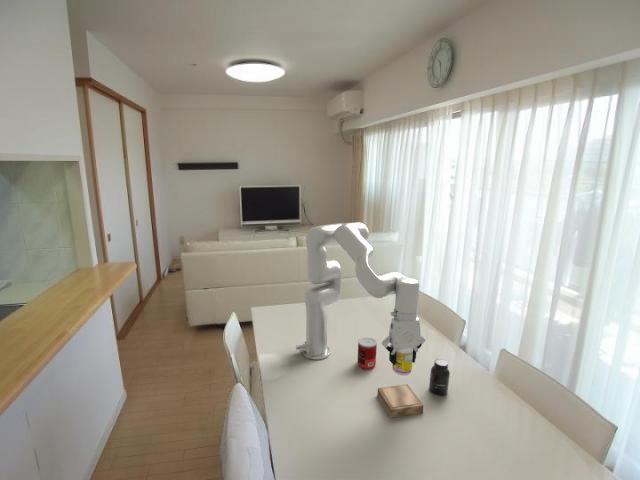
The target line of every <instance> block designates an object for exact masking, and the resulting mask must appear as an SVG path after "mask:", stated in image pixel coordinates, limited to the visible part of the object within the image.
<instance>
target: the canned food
mask: <svg viewBox="0 0 640 480" xmlns="http://www.w3.org/2000/svg"><path fill="white" fill-rule="evenodd" d="M377 345H378V344H377V340H376V339H375V338H373V337H367V336H366V337H364V336H363V337H361V338H360V339H358V344H357V365H358V367H359V368H360V369H362V370H366V371H367V370H368V371H369V370H370V371H371V370H372V369H374V368H375V367H376V362H377V348H378V347H377Z"/></svg>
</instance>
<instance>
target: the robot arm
mask: <svg viewBox="0 0 640 480" xmlns="http://www.w3.org/2000/svg"><path fill="white" fill-rule="evenodd" d="M369 236H370V235H369V229H368V227H367V226H366V225H365V224H364V223H363V222H360V221H356V222H355V221H354V222H338V223H331V224H323V225H317V226H313V227H312V228H310V229H309V230H308V231H307V233H306V235H305V246H306V250H307V280H308V282H309V283H310V284H311V285H315V286H311V287H310V288H308V289H306V290H305V292H304V295H303V301H304V306H305V321H306V322H305V327H306V329H305V334H306V335H305V341H304V343H303V344H295V351H296V350H298V351H299V353H301V352H302V354H303V356H304V357H306V358H307V359H309V360H314V361H315V360H316V361H317V360H318V361H319V360H324V359H327V358H328V357H329V356H330V354H331V349H330V347H329V346H328V314H327V312H326V311H325V307H326V306H329V305H333V304H334V303H336V302H339V301H340V299H341V296H342V268H341V265H340V264H339V262H338V261H337V260H336V259H329V258H328V251H327V249H326V247H325V246H332V245H333V246H334V245H336V244H337V245H339V246H340V247H341V248H342V249H343V250H344V251H345V253H346V254H347V255H348V256H349V257H350V259H351V260H352V261H353V262H354V263H355V266H354V269H355V270H354V271H355V274H356V278H357V280H358V282H359V284H360V285H361V286H362V288H364V289H365V291H366V292H367V293H368V294H369V296H370V295H371V296H372V297H374V298H375V299H383V298H386V297H388V296H391V295H395V296H394V299H395V300H394V309H393V311H391V312H390V316H391V321H390V325H389V330H388V336H386V338H385V339H384V340H383V341H382V342H381V345H382V346H383V347H384V348H385V349H386V350H387V351H388V352H389V355H388V357H389V359H388V360H389V362H390V363H391V364H392V365H395V364H396V354H395V352H396V350H397V349H401V348H410V347H413V359H412V364H414V363H415V362H416V359H417V353H418V352H419V349H420V348H421V347H422V345H423V344H424V343H425V342H426V339H425V338H424V336H422V335H421V323H420V322H421V321H420V318H419V317H418V307H419V296H420V282H419V281H418V280H417V279H415V278H412V277H407V276H405V275H403V274H401V273H400V272H397V271H389V272H386V273H385V272H384V273H382V274H379V275H377V274H376V273H375V272H374V271H373V270H372V268H371V267H370V266H369V263H368V261H369V260H370V259H371V258H372V256H373V253H374V248H373V247H372V245H370V244H369V242H368V241H367V240H368V238H369ZM388 344H389V345H388Z"/></svg>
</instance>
